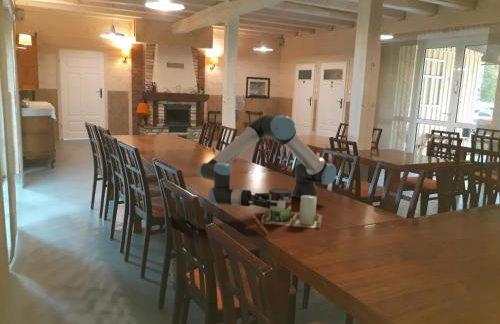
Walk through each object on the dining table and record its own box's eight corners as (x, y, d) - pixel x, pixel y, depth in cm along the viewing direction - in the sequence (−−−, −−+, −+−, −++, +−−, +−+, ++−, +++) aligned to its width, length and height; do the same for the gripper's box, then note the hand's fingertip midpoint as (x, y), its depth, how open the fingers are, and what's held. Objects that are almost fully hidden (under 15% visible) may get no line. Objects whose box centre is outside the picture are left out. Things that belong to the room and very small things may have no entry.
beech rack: (260, 225, 177) (261, 217, 176) (266, 217, 190) (266, 210, 189) (319, 230, 171) (320, 222, 170) (321, 222, 183) (322, 214, 183)
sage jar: (309, 220, 182) (311, 194, 181) (317, 224, 176) (319, 198, 175) (296, 221, 179) (297, 195, 178) (304, 225, 173) (306, 198, 172)
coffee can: (295, 222, 178) (296, 191, 177) (275, 225, 174) (276, 193, 172) (283, 216, 188) (284, 187, 186) (264, 219, 183) (264, 189, 181)
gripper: (248, 199, 196) (290, 202, 191) (234, 212, 172) (282, 216, 167) (248, 184, 195) (291, 187, 190) (234, 195, 171) (283, 199, 166)
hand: (287, 201), depth 179 cm, fingers open, 13 cm apart
